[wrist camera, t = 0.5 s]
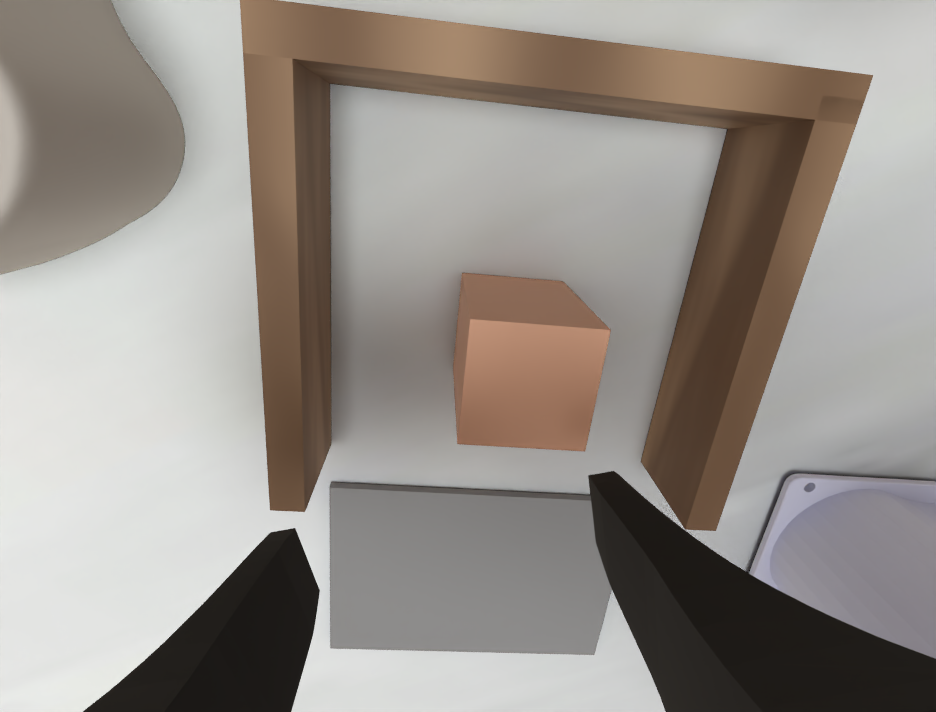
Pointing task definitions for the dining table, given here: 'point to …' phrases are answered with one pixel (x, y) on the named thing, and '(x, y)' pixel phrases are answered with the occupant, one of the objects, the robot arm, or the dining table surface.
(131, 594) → the dining table surface
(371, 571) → the rubber mat
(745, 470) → the dining table surface
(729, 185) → the open wooden frame
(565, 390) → the terracotta block
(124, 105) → the lumpy-topped squat cylinder
